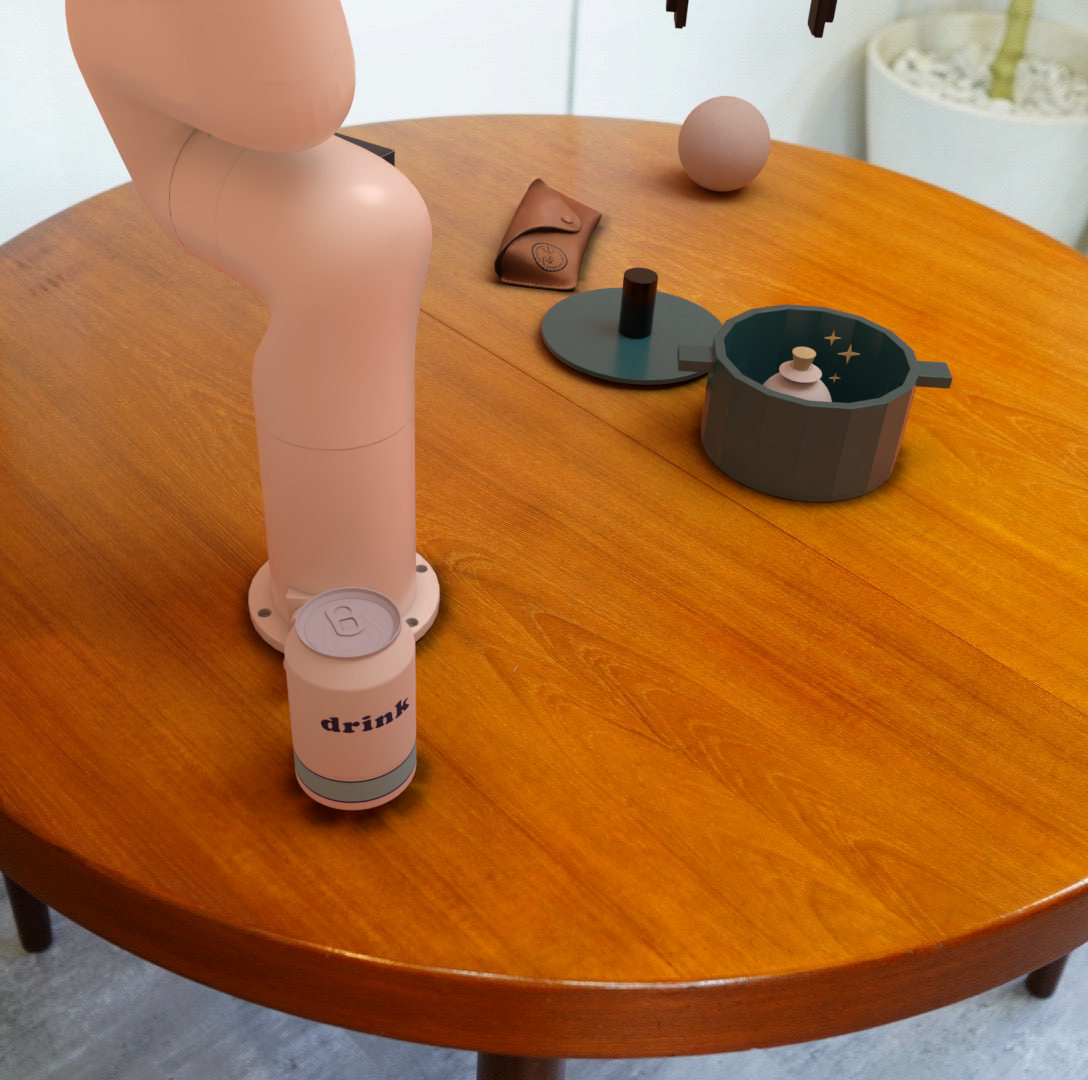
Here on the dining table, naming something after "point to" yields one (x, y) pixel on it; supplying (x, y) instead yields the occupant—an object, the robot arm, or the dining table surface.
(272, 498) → the robot arm
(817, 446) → the pot
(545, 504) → the dining table surface
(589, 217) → the sunglasses case
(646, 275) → the lid
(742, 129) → the ball
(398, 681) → the beverage can
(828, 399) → the potion bottle
